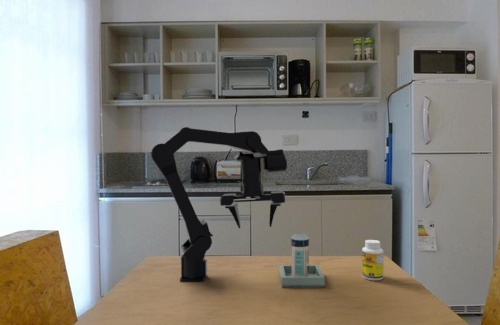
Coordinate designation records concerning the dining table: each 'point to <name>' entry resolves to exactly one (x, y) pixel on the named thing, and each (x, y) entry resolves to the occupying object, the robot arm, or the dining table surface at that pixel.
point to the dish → (302, 277)
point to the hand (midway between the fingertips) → (255, 227)
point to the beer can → (300, 254)
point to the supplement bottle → (372, 260)
